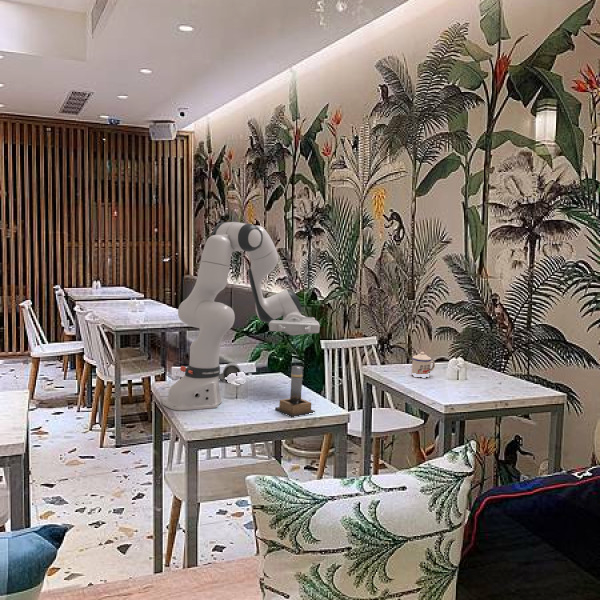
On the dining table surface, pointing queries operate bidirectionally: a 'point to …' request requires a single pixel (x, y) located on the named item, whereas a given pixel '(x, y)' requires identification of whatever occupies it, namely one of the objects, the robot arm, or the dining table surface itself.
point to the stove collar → (294, 408)
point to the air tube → (296, 384)
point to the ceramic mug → (229, 370)
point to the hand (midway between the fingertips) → (294, 329)
